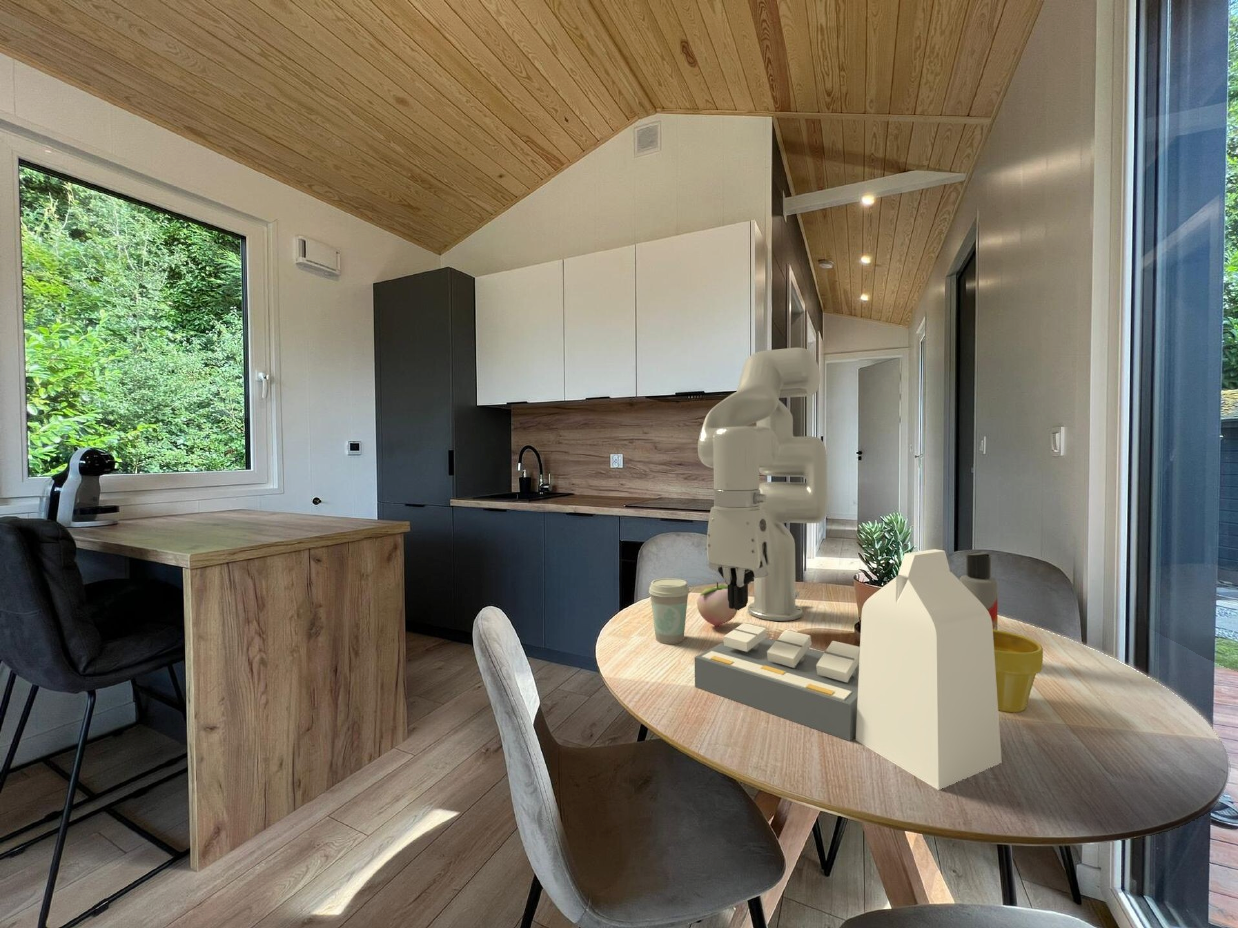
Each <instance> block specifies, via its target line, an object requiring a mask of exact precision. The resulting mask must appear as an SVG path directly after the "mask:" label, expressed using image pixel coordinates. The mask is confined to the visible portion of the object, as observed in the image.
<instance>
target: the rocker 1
mask: <svg viewBox="0 0 1238 928" xmlns="http://www.w3.org/2000/svg"><path fill="white" fill-rule="evenodd" d="M767 635H768V634H767V628H766V627H762V626H758V625H754V624H750V623H745V622H743V623H741V624H740V625H739V626H737V627H736V628H733V629H732V630H731V631H730V632H728V633H727V634H725V635H723V642H724V646H728V647H732V648H735V649H739V650H742V651H746V652H748V651H749V650H750V649H751V648H753V647H754V646H755V645H757V644H758V643H759V642H761V641H762V640H763V639H765V638H768V636H767Z"/></svg>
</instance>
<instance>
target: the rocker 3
mask: <svg viewBox="0 0 1238 928" xmlns="http://www.w3.org/2000/svg"><path fill="white" fill-rule="evenodd" d="M823 652H824V654H823V656H822V657H821V659H820V660H819V661H818V663H817V664H816V668H817V674H818V675H822V676H825V677H829V678H832V679H836V680H839V681H843V682H848V681H849V679H850V677H851V675H852V674H853V672H854V670H855V668H856V667H857V665H858V663H859V659H860V646H858V645H853V644H849V643H845V642H839V641H836V640H832V641H831V642H830V644H829V645H828V647H827V648H826V650H825V651H823Z"/></svg>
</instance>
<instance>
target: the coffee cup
mask: <svg viewBox="0 0 1238 928" xmlns="http://www.w3.org/2000/svg"><path fill="white" fill-rule="evenodd" d="M648 589H649V590H648V593H649V595H650V596H649V597H650V601H651V603H650V604H651V609H652V619H653V620H652V621H653V625H654V634H655V640H656V641H657V642H658V643H660V644H664V645H676V644H680V643H683V641H684V640H685V639H684V638H685V629H686V621H687V620H686V619H687V608H688V598H689V594H690V592H691V591H690V588H689V585H688V582H687V581H686V580H684V579H680V578H669V577H668V578H666V577H665V578H664V577H663V578H657V579H653V580H652V581H651V583H650V586H649V587H648Z"/></svg>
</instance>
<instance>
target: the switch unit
mask: <svg viewBox="0 0 1238 928" xmlns="http://www.w3.org/2000/svg"><path fill="white" fill-rule="evenodd" d="M775 641H776V639H773V638H769V637H766V638H765V639H763V640H762V641H761V642H759V643H758V644H757V645H755V646H754V647H753V648H751V649H750V650H749V651H748V652H746V651H742V650H739V649H735V648H732V647H728V646H724V641H722V642H721V643H720V642H719V643H718V644H717V645H714V646H713V647H711V648H709V649H707V650H705V651H703V652H702V653H700V654H698V655H696V656H694V687H695V688H696V689H697V688H698V689H700V690H702V691H706V692H709V693H712V694H714V695H717V696H720V697H723V698H726V699H729V700H732V701H735V702H736V703H740V704H743V705H745V706H749V707H751V708H754V709H756V710H760V711H763V712H765V713H768V714H771V715H773V716H777V717H780V718H782V719H786V720H787V721H791V722H794V723H797V724H799V725H802V726H805V727H808V728H811V729H813V730H817V731H820V732H822V733H825V734H828V735H831V736H834V737H837V738H840V739H842V740H845V741H848V742H851V740H852V739H853V738H855V737H856V723H857V702H858V680H859V663H858V665H857V667H856V668H855V670H854V672H853V674H852V675H851V677H850V679H849V681H848V682H843V681H839V680H836V679H832V678H829V677H825V676H822V675H818V674H817V668H816V664H817V663H818V661H819V660H820V659H821V657H822V656H823V654H824V652H825V651H822V650H818V649H814V648H810V647H809V648H808V650H807V651H806V652H805V654H804V655H803V657H802V658H801V659H800V661H799V662H798V663H797V665H796V666H795V668H793V667H789V666H786V665H782V664H779V663H775V662H771V661H768V657H767V651H768V650H769V649H770V647H771V646H772V645H773V644H774V643H775Z"/></svg>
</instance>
